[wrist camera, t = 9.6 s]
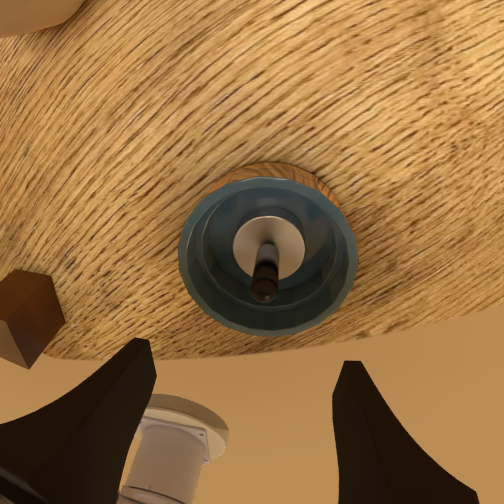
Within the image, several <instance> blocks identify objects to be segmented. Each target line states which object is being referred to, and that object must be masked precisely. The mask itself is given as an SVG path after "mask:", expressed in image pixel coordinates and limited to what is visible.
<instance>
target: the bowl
mask: <svg viewBox="0 0 504 504" xmlns="http://www.w3.org/2000/svg"><path fill="white" fill-rule="evenodd" d="M263 206H276V207H280V208H283V209H285V210H287V211H289V212H291V213H292V214H293V215H294V216H295V217H296V218H297V219H298V220H299V222H300V223H301V225H302V227H303V230H304V236H305V244H306V253H305V257H304V260H303V262H302V264H301V266H300V267H299V268H298V269H297V270H296V271H295V272H294V273H293V274H292V275H290V276H288V277H286V278H284V279H281V280H278V292H277V295H276V297H275V298H274V299H273V300H272V301H270V302H268V303H261V302H258V301H256V300H255V299H254V298H253V297H252V295H251V291H250V287H251V282H252V277H251V276H249V275H248V274H246V273H245V272H244V271H243V270H242V269H241V268H240V267H239V266H238V264H237V263H236V261H235V259H234V256H233V251H232V242H233V238H234V235H235V232H236V230H237V227H238V225H239V223H240V221H241V219H242V218H243V217H244V216H245V215H246V214H247V213H249V212H250V211H252V210H254V209H256V208H259V207H263ZM178 261H179V271H180V274H181V277H182V279H183V282H184V284H185V286H186V289H187V291H188V293H189V295H190V296H191V297H192V298H193V299H194V301H195V302H196V303H197V304H198V305H199V307H200V308H201V309H202V310H203V311H204V312H205V313H206V314H207V315H209V316H210V317H212V318H213V319H215V320H216V321H218V322H219V323H221V324H222V325H224V326H226V327H228V328H231V329H234V330H237V331H239V332H242V333H245V334H249V335H257V336H267V337H273V336H274V337H277V336H284V335H290V334H297V333H300V332H302V331H305V330H307V329H309V328H311V327H314V326H316V325H318V324H320V323H322V322H323V321H324V320H326V319H327V318H328V317H329V316H330V315H332V314H333V313H334V312H335V311H336V310H338V309H339V307H340V306H341V305H342V303H343V302H344V300H345V299H346V297H347V296H348V294H349V293H350V291H351V289H352V288H353V285H354V281H355V277H356V273H357V268H358V264H359V263H358V262H359V259H358V251H357V244H356V237H355V234H354V232H353V230H352V228H351V226H350V224H349V222H348V220H347V218H346V215H345V213H344V211H343V210H342V208H341V206H340V204H339V202H338V200H337V199H336V197H335V195H334V193H333V192H332V191H331V190H330V189H329V188H328V187H327V186H326V185H325V184H324V183H322V182H321V181H320V180H319V179H318V178H317V177H316V176H314V175H313V174H311V173H309V172H306V171H304V170H302V169H299V168H297V167H295V166H292V165H288V164H279V163H267V162H264V163H257V164H253V165H249V166H245V167H241V168H238V169H235V170H234V171H232V172H231V173H229V174H227V175H226V176H224V177H223V178H221V179H220V180H218V181H217V182H216V183H215V184H214V185H213V186H212V187H211V189H210V190H209V191H208V192H207V194H206V195H205V196H204V197H203V199H202V200H201V201H200V202H199V204H198V205H197V206H196V208H195V209H194V210H193V212H192V213H191V214H190V215H189V217H188V218H187V219H186V221H185V223H184V226H183V230H182V233H181V236H180V240H179V243H178Z"/></svg>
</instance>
